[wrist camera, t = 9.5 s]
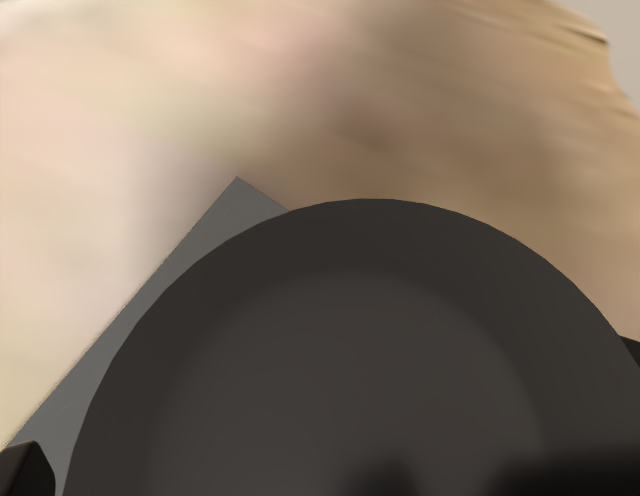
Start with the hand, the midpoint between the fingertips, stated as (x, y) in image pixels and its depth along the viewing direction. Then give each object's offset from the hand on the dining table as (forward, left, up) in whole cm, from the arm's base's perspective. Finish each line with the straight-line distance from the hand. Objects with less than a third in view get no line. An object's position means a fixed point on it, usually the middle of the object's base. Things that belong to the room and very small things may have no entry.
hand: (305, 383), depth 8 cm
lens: (-1, -1, -8) cm, 9 cm away
